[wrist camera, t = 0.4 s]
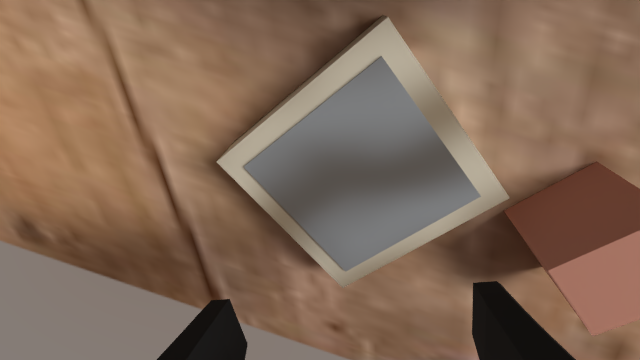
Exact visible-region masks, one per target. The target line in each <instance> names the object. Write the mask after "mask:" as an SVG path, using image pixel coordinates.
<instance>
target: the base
mask: <svg viewBox="0 0 640 360" xmlns="http://www.w3.org/2000/svg"><path fill="white" fill-rule="evenodd" d="M217 163H218V164H219V165H220V166H221V167H222V168H223V169H224V170H225V171H226V172H227V173H228V174H229V175H230V176H231V177H232V178H233V179H234V180H235V181H236V182H237V183H238V184H239V185H240V186H241V187H242V188H243V189H244V190H245V191H246V192H247V193H248V194H249V195H250V196H251V197H252V198H253V199H254V200H255V201H256V202H257V203H258V204H259V205H260V206H261V207H262V208H263V209H264V210H265V211H266V212H267V213H268V214H269V215H270V216H271V217H272V218H273V219H274V220H275V221H276V222H277V223H278V224H279V225H280V226H281V227H282V228H283V229H284V230H285V231H286V232H287V233H288V234H289V235H290V236H291V237H292V238H293V239H294V240H295V241H296V242H297V243H298V244H299V245H300V246H301V247H302V248H303V249H304V250H305V251H306V252H307V253H308V254H309V255H310V256H311V257H312V258H313V259H314V260H315V261H316V262H317V263H318V264H319V265H320V266H321V267H322V268H323V269H324V270H325V271H326V272H327V273H328V274H329V275H330V276H331V277H332V278H333V279H334V280H335V281H336V282H337V283H338V284H339V285H340V286H341V287H342V288H343V287H345V286H347V285H349V284H351V283H353V282H355V281H356V280H358V279H360V278H362V277H364V276H366V275H368V274H369V273H371V272H373V271H375V270H377V269H379V268H381V267H382V266H384V265H386V264H388V263H390V262H392V261H394V260H396V259H397V258H399V257H401V256H403V255H405V254H407V253H409V252H410V251H412V250H414V249H416V248H418V247H420V246H422V245H423V244H425V243H427V242H429V241H431V240H433V239H435V238H436V237H438V236H440V235H442V234H444V233H446V232H448V231H449V230H451V229H453V228H455V227H457V226H459V225H461V224H462V223H464V222H466V221H468V220H470V219H472V218H474V217H476V216H477V215H479V214H481V213H483V212H485V211H487V210H489V209H490V208H492V207H494V206H496V205H498V204H500V203H502V202H503V201H505V200H507V199H509V198H510V197H509V196H508V194H507V193H506V191H505V190H504V189H503V187H502V186H501V184H500V183H499V181H498V180H497V178H496V177H495V175H494V174H493V172H492V171H491V169H490V168H489V166H488V165H487V163H486V162H485V160H484V159H483V157H482V156H481V154H480V153H479V151H478V150H477V148H476V147H475V145H474V144H473V142H472V141H471V139H470V138H469V137H468V135H467V134H466V132H465V131H464V129H463V128H462V126H461V125H460V123H459V122H458V120H457V119H456V117H455V116H454V114H453V113H452V111H451V110H450V108H449V107H448V105H447V104H446V102H445V101H444V99H443V98H442V96H441V95H440V93H439V92H438V90H437V89H436V88H435V86H434V85H433V83H432V82H431V80H430V79H429V77H428V76H427V74H426V73H425V71H424V70H423V68H422V67H421V65H420V64H419V62H418V61H417V59H416V58H415V56H414V55H413V53H412V52H411V50H410V49H409V47H408V46H407V44H406V43H405V41H404V40H403V38H402V37H401V36H400V34H399V33H398V31H397V30H396V28H395V27H394V25H393V24H392V22H391V21H390V19H389V18H388V17H387V16H382V17H381V18H379V19H378V20H377V21H376V22H375V23H374V24H372V25H371V26H370V27H369V28H368V29H366V30H365V31H364V32H363V33H362V34H361V35H359V36H358V37H357V38H356V39H355V40H354V41H352V42H351V43H350V44H349V45H348V46H347V47H345V48H344V49H343V50H342V51H341V52H339V53H338V54H337V55H336V56H335V57H334V58H332V59H331V60H330V61H329V62H328V63H327V64H325V65H324V66H323V67H322V68H321V69H320V70H318V71H317V72H316V73H315V74H314V75H312V76H311V77H310V78H309V79H308V80H307V81H305V82H304V83H303V84H302V85H301V86H300V87H298V88H297V89H296V90H295V91H294V92H293V93H291V94H290V95H289V96H288V97H287V98H285V99H284V100H283V101H282V102H281V103H280V104H278V105H277V106H276V107H275V108H274V109H273V110H271V111H270V112H269V113H268V114H267V115H266V116H264V117H263V118H262V119H261V120H260V121H258V122H257V123H256V124H255V125H254V126H253V127H251V128H250V129H249V130H248V131H247V132H246V133H244V134H243V135H242V136H241V137H240V138H239V139H237V140H236V141H235V142H234V143H233V144H232V145H231V146H230V147H229V148H228V149H227V150H226V152H225V153H224V154H223V155H222V156H221V157H220V158H219V159H218V161H217Z"/></svg>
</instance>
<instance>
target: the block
mask: <svg viewBox="0 0 640 360" xmlns="http://www.w3.org/2000/svg"><path fill="white" fill-rule="evenodd" d="M504 212H505V213H506V215H507V216H508V218H509V219H510V221H511V222H512V223H513V225H514V226H515V228H516V229H517V231H518V232H519V234H520V235H521V236H522V238H523V239H524V241H525V242H526V244H527V245H528V247H529V248H530V249H531V251H532V252H533V254H534V255H535V257H536V258H537V260H538V261H539V262H540V264H541V265H542V267H543V268H544V270H545V271H546V272H547V274H548V275H549V276H550V278H551V279H552V281H553V282H554V283H555V285H556V286H557V287H558V289H559V290H560V292H561V293H562V294H563V296H564V297H565V299H566V300H567V301H568V303H569V304H570V305H571V307H572V308H573V310H574V311H575V312H576V314H577V315H578V317H579V318H580V319H581V321H582V322H583V323H584V325H585V326H586V328H587V329H588V330H589V332H590V333H591V335H592V336H594V335H597V334H600V333H603V332H606V331H609V330H611V329H614V328H617V327H620V326H623V325H625V324H628V323H631V322H634V321H637V320H639V319H640V189H639V188H637V187H636V186H634V185H633V184H631V183H629V182H628V181H626V180H625V179H623V178H622V177H620V176H619V175H617V174H615V173H614V172H612V171H611V170H609V169H608V168H606V167H604V166H603V165H601V164H600V163H598V162H595V163H593V164H591V165H589V166H587V167H586V168H584V169H582V170H580V171H578V172H576V173H574V174H572V175H570V176H568V177H567V178H565V179H563V180H561V181H559V182H557V183H555V184H553V185H551V186H549V187H548V188H546V189H544V190H542V191H540V192H538V193H536V194H534V195H532V196H531V197H529V198H527V199H525V200H523V201H521V202H519V203H517V204H515V205H513V206H512V207H510V208H508V209H506V210H504Z"/></svg>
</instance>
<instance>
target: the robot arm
mask: <svg viewBox="0 0 640 360" xmlns="http://www.w3.org/2000/svg"><path fill="white" fill-rule="evenodd" d="M472 335H473V339H474V342H475V346H476V349H477V353H478V356H479V359H480V360H576V359H575V358H573V357H572V356H571V355H570V354H569V353H568V352H567V351H566V350H565V349H564V348H563V347H562V346H561V345H560V344H559V343H558V342H557V341H556V340H554V339H553V338H552V337H551V336H550V335H549V334H548V333H547V332H546V331H545V330H544V329H543V328H542V327H541V326H540V325H539V324H538V323H537V322H536V321H535V320H534V319H533V318H532V317H531V316H530V315H529V314H528V313H527V312H526V311H525V310H524V309H523V308H522V307H521V306H520V304H519V303H518V302H517V301H516V300H515V299H514V298H513V297H512V296H511V295H510V294H509V293H508V292H507V291H506V290H505V288H504V287H503V286H502V285H501V284H500V283H498V282H497V281H493V282H478V283H473V320H472ZM246 349H247V342H246V339H245V336H244V334H243V332H242V329H241V327H240V324H239V322H238V319H237V317H236V314H235V312H234V309H233V307H232V304H231V302H230V299H225V300H211V301H210V303H209V304H208V305H207V306H206V307H205V308H204V309H203V310H202V311H201V312H200V313H199V314H198V315H197V316H196V317H195V319H194V320H193V321H192V322H191V323H190V324H189V325H188V326H187V327H186V329H185V330H184V331H183V332H182V333H181V334H180V335H179V336H178V337H177V338H176V339H175V341H174V342H173V343H172V344H171V345H170V346H169V347H168V348H167V349H166V350H165V351H164V352H163V353H162V355H161V356H160V357H159V358H158V359H157V360H245V355H246Z"/></svg>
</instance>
